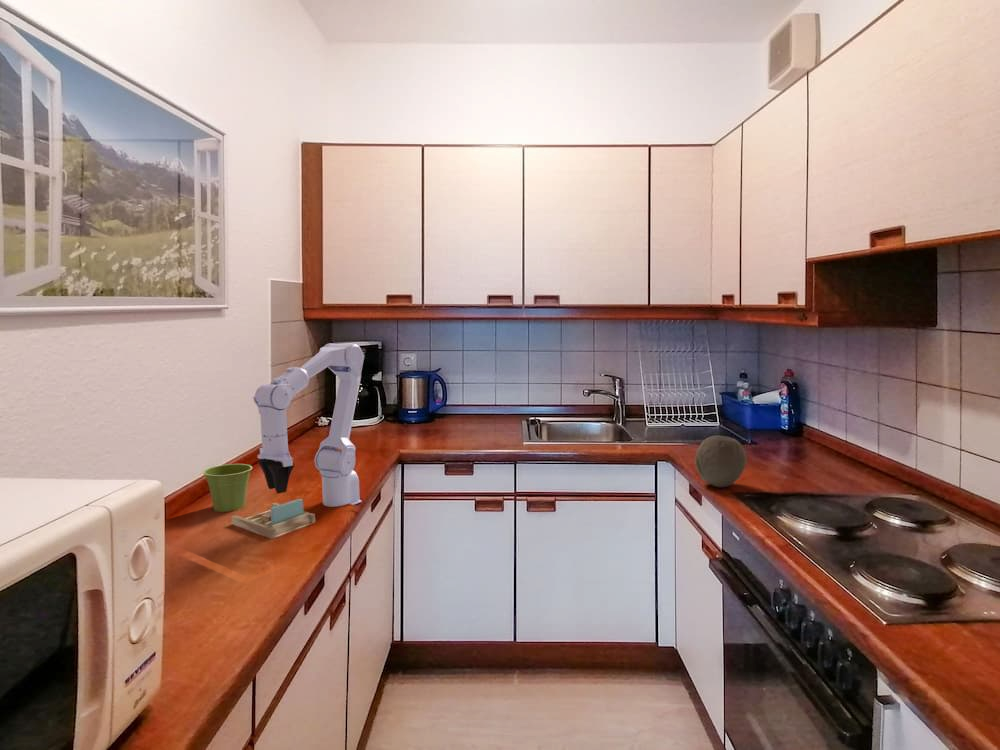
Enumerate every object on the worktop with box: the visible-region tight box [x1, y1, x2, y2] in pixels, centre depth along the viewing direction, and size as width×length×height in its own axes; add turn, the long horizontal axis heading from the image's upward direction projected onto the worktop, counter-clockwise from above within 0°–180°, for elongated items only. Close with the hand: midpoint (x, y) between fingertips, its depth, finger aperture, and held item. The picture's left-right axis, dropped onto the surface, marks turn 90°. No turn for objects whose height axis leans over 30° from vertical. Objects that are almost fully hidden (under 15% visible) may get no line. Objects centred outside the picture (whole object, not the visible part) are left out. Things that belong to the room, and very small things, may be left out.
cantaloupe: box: [694, 435, 747, 488], centre depth 170 cm, size 14×14×15 cm
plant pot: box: [202, 463, 253, 513], centre depth 151 cm, size 12×12×11 cm
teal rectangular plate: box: [270, 498, 304, 525], centre depth 136 cm, size 8×1×6 cm, turn 146°
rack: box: [231, 502, 316, 539], centre depth 140 cm, size 12×16×3 cm
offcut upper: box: [262, 512, 271, 522], centre depth 139 cm, size 6×2×1 cm, turn 150°
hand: (277, 490), depth 137 cm, fingers open, 4 cm apart
